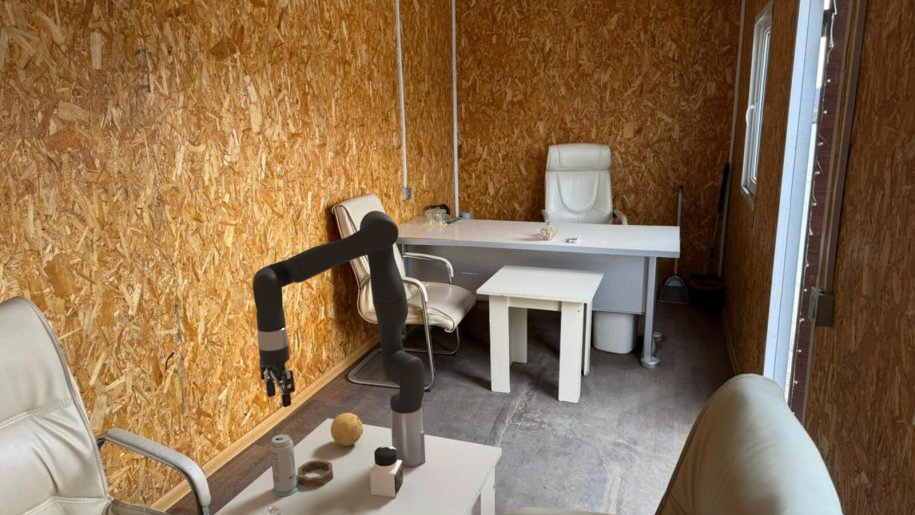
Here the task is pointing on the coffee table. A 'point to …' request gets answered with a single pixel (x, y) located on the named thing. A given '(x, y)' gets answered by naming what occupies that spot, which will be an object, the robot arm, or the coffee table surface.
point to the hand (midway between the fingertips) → (279, 400)
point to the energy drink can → (283, 463)
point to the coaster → (288, 492)
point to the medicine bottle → (386, 472)
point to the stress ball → (346, 429)
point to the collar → (315, 480)
